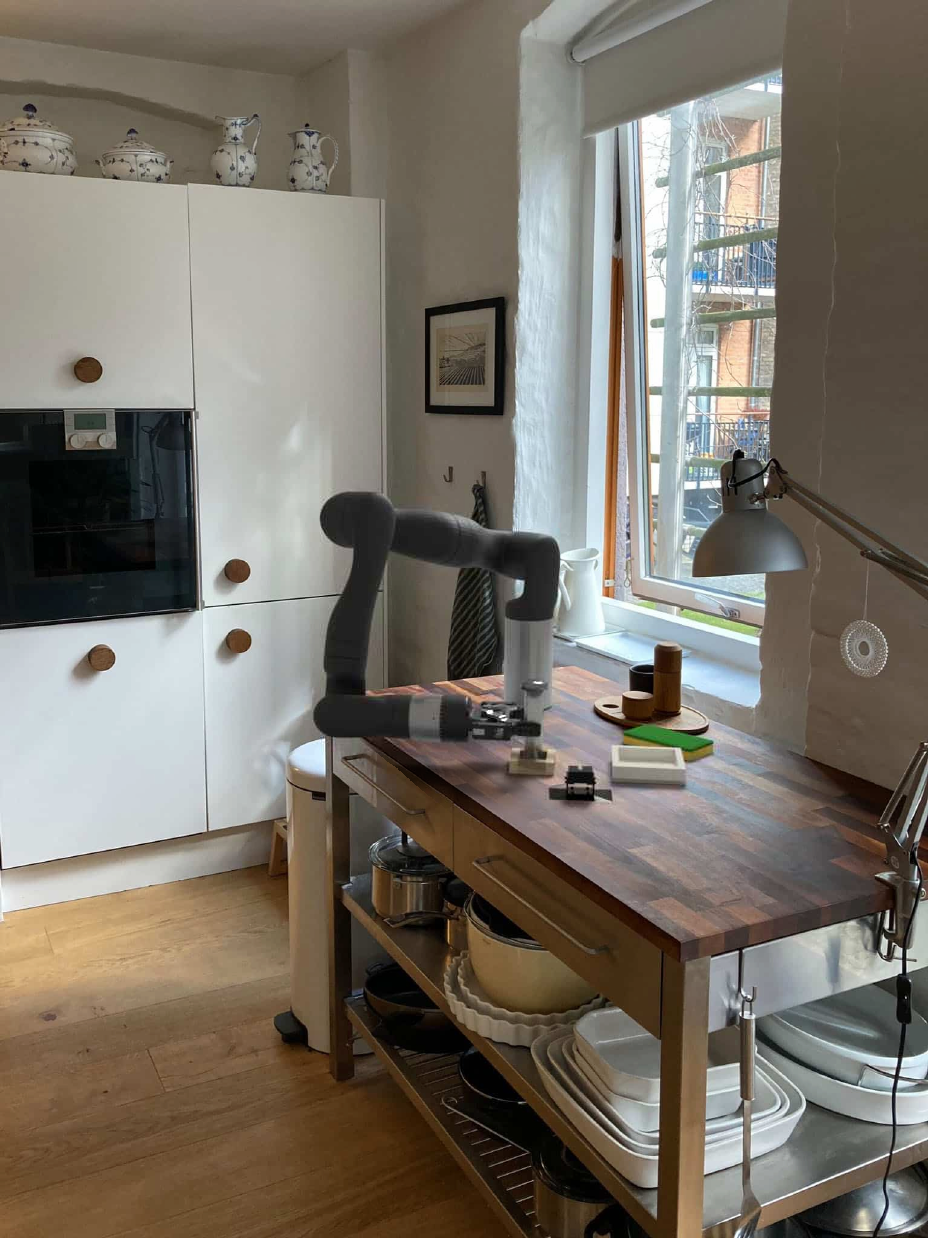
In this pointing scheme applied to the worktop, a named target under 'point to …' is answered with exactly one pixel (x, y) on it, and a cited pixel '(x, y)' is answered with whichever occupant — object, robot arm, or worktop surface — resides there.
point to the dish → (648, 765)
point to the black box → (580, 793)
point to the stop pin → (533, 714)
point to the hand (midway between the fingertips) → (542, 722)
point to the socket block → (532, 762)
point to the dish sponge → (668, 740)
